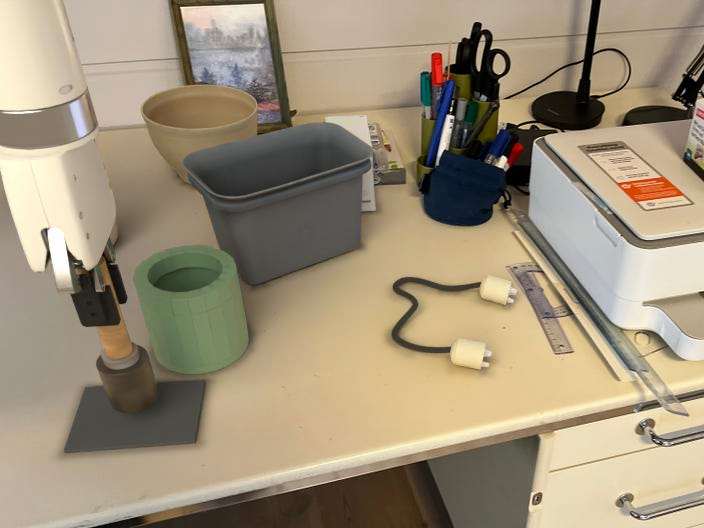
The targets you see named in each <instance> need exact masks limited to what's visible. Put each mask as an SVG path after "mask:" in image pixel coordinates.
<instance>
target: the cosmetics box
mask: <svg viewBox="0 0 704 528" xmlns="http://www.w3.org/2000/svg"><path fill="white" fill-rule="evenodd" d="M324 122H329V123H334V124H337V125H340V126H342V127H343V128H345V129H346V130H348V131H349V132H351V133H352V134H354V135H355V136H357V137H358V138H359V139H361V140H362V141H364V142H365V143H367V144H368V145H369V146H371V147H372V148H373V142H372V138H371V133H370V129H369V122H368V117H367V115H366V114H351V115H350V114H349V115H348V114H347V115H329V116H325V117H324ZM373 156H374V154H373V155H372V157H370V160H371V165H372V167H371V169H370V170H369V171H368V172H367V173H365V174H363V182H362V212H375V211H377V208H376V195H375V181H374V180H375V179H374V157H373Z"/></svg>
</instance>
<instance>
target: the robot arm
mask: <svg viewBox="0 0 704 528" xmlns="http://www.w3.org/2000/svg"><path fill="white" fill-rule="evenodd" d="M99 133H100V124H99V121H98V117H97V115H96V111H95V108H94V104H93V101H92V97H91V93H90V90H89V86H88V84H87V79H86V76H85V73H84V69H83V65H82V62H81V58H80V55H79V51H78V47H77V44H76V40H75V38H74V33H73V30H72V26H71V24H70V20H69V16H68V13H67V9H66V6H65V2H64V0H0V175H1V180H2V185H3V189H4V194H5V196H6V200H7V204H8V207H9V211H10V213H11V217H12V220H13V222H14V226H15V229H16V232H17V234H18V239H19V241H20V244H21V247H22V249H23V252H24V256H25V258H26V260H27V263H28V265H29V267H30V269H31V270H32V271H33V272H34V273H36V274H37V273H38V274H40V273H43V272H46V270H47V268H48V265H49V263H50V262H51V266H52V270H53V276H54V281H55V287H56V292H57V293H58V294H59V295H66V294H68V295H70V297H71V300H72V304H73V306H74V308H75V311H76V314H77V316H78V319H79V322H80V325H81V326H82V327H84V328H96V327H98V326H116V325H119V324H120V321H121V317H120V314H119V311H118V308H117V305H116V302H115V299H114V296H113V292H112V289H111V286H110V285H105V282H104V278H103V275H102V272H101V268H100V265H99V260H100V258H101V256H103V257H104V258H105V262H106V265H107V268H108V271H109V274H110V277H111V280H112V284H113V287H114V290H115V293H116V296H117V299H118V302H119V305H125V304H127V303H128V299H129V297H128V294H127V291H126V288H125V283H124V280H123V278H122V277H123V276H122V274H121V271H120V267H119V265H118V263H116V261H117V257H116V256H117V255H116V251H115V248H114V245H112V242H111V239H110V233H111V231H112V228H113V225H114V222H115V221H116V217H117V208H116V202H115V198H114V193H113V189H112V186H111V182H110V179H109V176H108V172H107V169H106V167H105V164H104V161H103V158H102V155H101V152H100V149H99V147H98V144H97V141H96V137H97V136H98V135H99ZM76 269H86V270H89V272H90V275H91V276H90V275H88V274H77V271H76Z"/></svg>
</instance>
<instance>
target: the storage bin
mask: <svg viewBox="0 0 704 528" xmlns="http://www.w3.org/2000/svg"><path fill="white" fill-rule="evenodd" d="M374 152H375V151H374V148H373V146H372V147H371V146H369V145H368V144H367V143H365V142H364V141H362V140H361V139H359V138H358V137H357V136H355V135H354V134H352V133H351V132H349V131H348V130H346V129H345V128H343V127H342V126H340V125H337V124H334V123H329V122H325V121H317V122H307V123H303V124H299V125H294V126H290V127H285V128H281V129H279V130H275V131H269V132H267V133H262V134H257V136H253V137H249V138H245V139H242V140H238V141H234V142H230V143H226V144H222V145H218V146H214V147H210V148H206V149H202V150H199V151H195V152H193V153H191V154H189V155H187V156H186V157H184V158H183V160H182V163H181V164H182V167H183V168H184V169H185V170H186V171H187V172H188V174H187V175H188V180H189V182H190V183H191V184H190V185H192V186H193V188H195V189H196V190H197V192H198V193H199V194H200V195H202V198H203V200H204V204H205V207H206V210H207V213H208V217H209V220H210V222H211V226H212V229H213V232H214V235H215V238H216V242H217V245H218V249H220V250H222V251H224V252H226V253H227V254H229V255H230V256H231V257H232V258H233V259H234V262H235V264H236V267H237V272H238V276H239V277H240V278H242V280H243V281H244V282H245V283H246V284H248V285H250V286H257V285H260V284H263V283H266V282H268V281H271V280H274V279H277V278H280V277H282V276H284V275H288V274H291V273H293V272H296V271H299V270H301V269H304V268H307V267H309V266H312V265H316V264H318V263H321V262H324V261H326V260H329V259H332V258H334V257H338V256H340V255H343V254H345V253H349V252H351V251H354V250H356V249H358V248H359V247H360V246H361V243H362V212H363V211H362V182H363V174H365V173H367V172H368V171H369V170H370V169H371V167H372V165H371V160H370V157H372V155H373V156H374Z"/></svg>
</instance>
